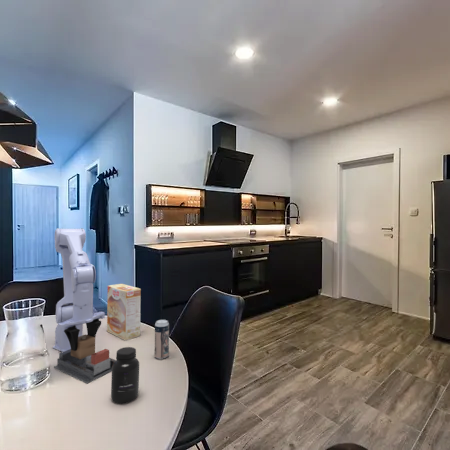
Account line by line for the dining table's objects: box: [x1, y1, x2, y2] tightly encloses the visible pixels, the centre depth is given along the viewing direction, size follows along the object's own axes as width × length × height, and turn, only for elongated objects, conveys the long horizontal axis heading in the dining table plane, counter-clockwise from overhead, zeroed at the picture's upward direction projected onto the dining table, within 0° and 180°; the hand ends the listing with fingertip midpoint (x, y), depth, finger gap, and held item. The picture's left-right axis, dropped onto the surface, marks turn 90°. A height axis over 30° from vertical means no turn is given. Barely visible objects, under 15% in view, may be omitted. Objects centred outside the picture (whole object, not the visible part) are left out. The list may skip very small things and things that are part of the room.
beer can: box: [153, 319, 170, 360], centre depth 96 cm, size 5×5×12 cm
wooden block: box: [71, 334, 96, 359], centre depth 89 cm, size 5×5×6 cm
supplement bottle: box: [110, 346, 140, 405], centre depth 73 cm, size 7×7×12 cm
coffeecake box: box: [106, 283, 142, 341], centre depth 117 cm, size 15×7×20 cm, turn 49°
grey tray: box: [53, 349, 116, 384], centre depth 88 cm, size 17×11×4 cm, turn 59°
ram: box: [86, 348, 111, 375], centre depth 86 cm, size 4×6×6 cm
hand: (82, 346), depth 90 cm, fingers closed on wooden block, 5 cm apart
